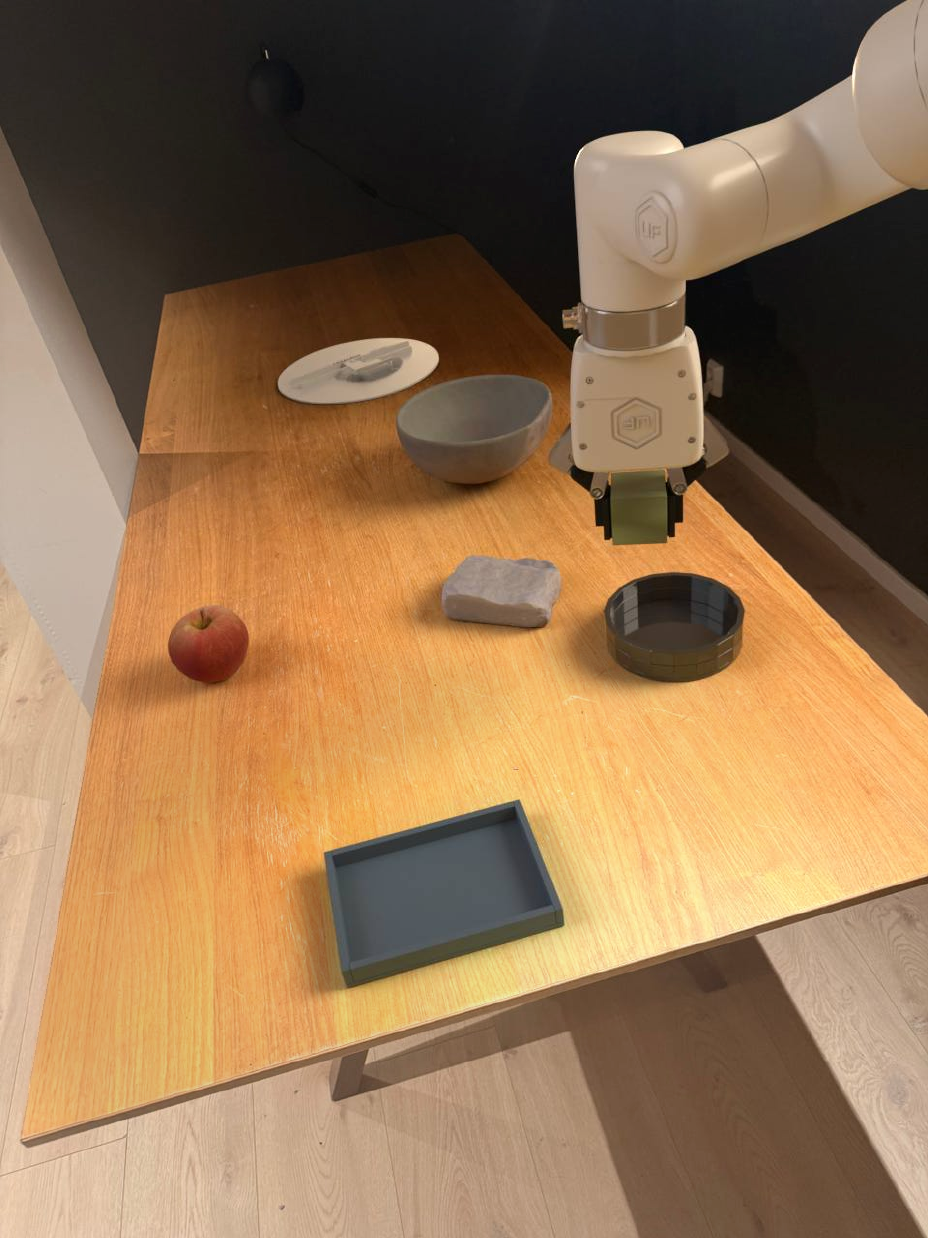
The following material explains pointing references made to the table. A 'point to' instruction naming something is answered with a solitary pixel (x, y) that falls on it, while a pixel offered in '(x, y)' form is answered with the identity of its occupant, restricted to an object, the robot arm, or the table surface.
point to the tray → (438, 892)
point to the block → (639, 507)
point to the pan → (674, 626)
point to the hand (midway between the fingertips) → (639, 528)
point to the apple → (208, 644)
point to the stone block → (502, 591)
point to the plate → (358, 371)
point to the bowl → (475, 426)
